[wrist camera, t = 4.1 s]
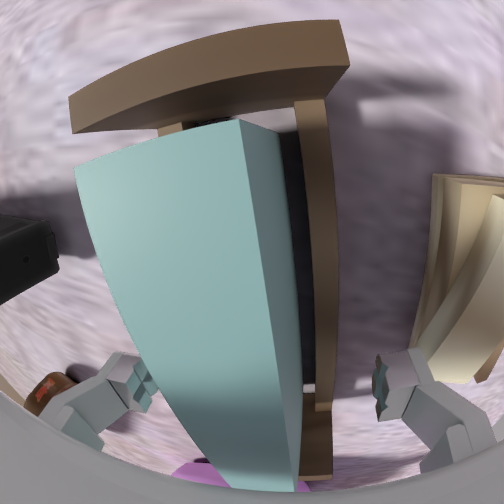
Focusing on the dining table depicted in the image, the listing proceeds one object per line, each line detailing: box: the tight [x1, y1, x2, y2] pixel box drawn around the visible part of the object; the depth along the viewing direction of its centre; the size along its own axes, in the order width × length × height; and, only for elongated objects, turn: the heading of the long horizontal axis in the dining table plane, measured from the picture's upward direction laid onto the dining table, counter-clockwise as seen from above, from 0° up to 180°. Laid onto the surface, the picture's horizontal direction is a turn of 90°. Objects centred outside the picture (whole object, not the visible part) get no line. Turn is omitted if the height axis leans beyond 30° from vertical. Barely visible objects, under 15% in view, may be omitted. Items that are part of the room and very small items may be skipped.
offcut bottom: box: [408, 174, 504, 349], centre depth 11 cm, size 10×5×2 cm, turn 8°
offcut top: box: [412, 195, 504, 384], centre depth 8 cm, size 8×4×2 cm, turn 165°
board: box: [73, 119, 303, 492], centre depth 9 cm, size 14×2×8 cm, turn 9°
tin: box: [24, 372, 77, 417], centre depth 19 cm, size 15×3×8 cm, turn 157°
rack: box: [68, 20, 504, 481], centre depth 9 cm, size 18×18×6 cm
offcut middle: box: [417, 177, 504, 341], centre depth 9 cm, size 9×5×2 cm, turn 7°
